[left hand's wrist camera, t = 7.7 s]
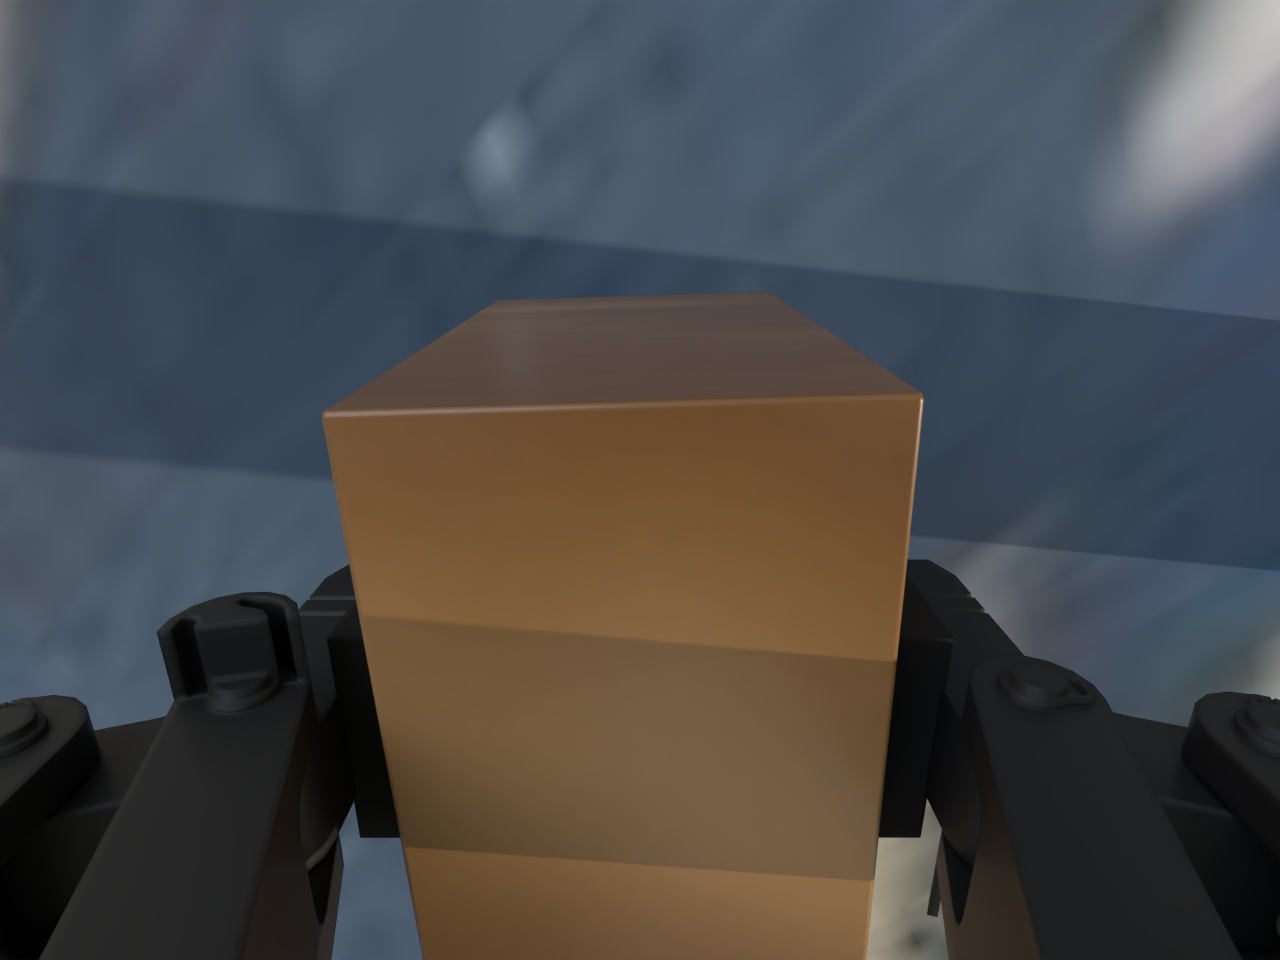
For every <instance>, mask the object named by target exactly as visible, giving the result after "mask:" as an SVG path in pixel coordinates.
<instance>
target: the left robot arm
mask: <svg viewBox="0 0 1280 960" xmlns="http://www.w3.org/2000/svg"><path fill="white" fill-rule="evenodd" d="M984 610H985V609H984V608H983V607H982V606H981V605H980V604H979V602H978V601H977V600H976V599H975V598H972V597H971V593H970V592H969V591H968V590H967V588H966V587H965V586H964V585H963V584H962V583H961V581H960V580H959V579H958V578H957V577H956V576H955V575H954V574H952V573H950V572H949V571H947V570H945V569H943V568H942V567H940V566H938V565H937V564H935V563H933V562H931V561H930V560H907V569H906V578H905V588H904V597H903V607H902V617H901V626H900V636H899V645H898V655H897V665H896V674H895V684H894V693H893V703H892V713H891V722H890V732H889V741H888V751H887V761H886V770H885V780H884V789H883V799H882V809H881V818H880V828H879V837H894V838H920V837H921V831H922V825H923V819H924V813H925V807H926V801H927V799H928V801H929V803H930V805H931V807H932V809H933V811H934V813H935V815H936V817H937V819H938V822H939V824H940V826H941V828H942V832H941V837H940V843H939V848H938V854H937V859H936V865H935V870H934V876H933V881H932V887H931V892H930V898H929V905H928V912H927V915H931V916H935V917H938V911H939V906H940V901H941V904H942V911H943V919H944V926H945V934H946V941H947V949H948V956H949V960H1280V700H1278V699H1275V698H1274V700H1272V699H1271V698H1270V697H1267V696H1262V695H1257V694H1244V693H1235V692H1221V693H1213V694H1207V695H1205V696H1204V697H1203V698H1201V699H1200V700H1198V701H1197V702H1196V703H1195V706H1194V709H1193V713H1192V716H1191V719H1190V722H1189V725H1188V727H1183V726H1178V725H1172V724H1167V723H1162V722H1157V721H1151V720H1146V719H1141V718H1136V717H1131V716H1126V715H1122V714H1118V713H1114V712H1112V710H1111V709H1110V707H1109V705H1108V703H1107V701H1106V699H1105V698H1104V697H1103V696H1102V694H1101V693H1100V692H1099V691H1098V690H1097V689H1096V687H1095V686H1094V685H1093V684H1091V683H1090V682H1088V681H1087V680H1085V679H1084V678H1082V677H1081V676H1079V675H1078V674H1076V673H1075V672H1073V671H1071V670H1069V669H1066V668H1064V667H1061V666H1059V665H1056V664H1054V663H1052V662H1049V661H1045V660H1041V659H1036V658H1032V657H1027V656H1024V655H1023V654H1022V652H1021V651H1020V650H1019V649H1018V648H1017V647H1016V645H1015V644H1014V643H1013V642H1012V641H1011V640H1010V639H1009V637H1008V636H1007V635H1006V634H1005V633H1004V632H1003V630H1002V629H1001V628H1000V627H999V626H998V625H997V623H996V622H995V621H994V620H993V619H992V618H991V616H990V615H989V614H988V613H985V612H984ZM157 635H158V639H159V643H160V647H161V651H162V654H163V658H164V662H165V666H166V670H167V674H168V677H169V681H170V685H171V689H172V693H173V697H174V702H173V704H172V706H171V708H170V710H169V712H168V714H167V716H164V717H160V718H156V719H152V720H147V721H142V722H136V723H131V724H126V725H121V726H116V727H110V728H105V729H100V730H95V731H94V729H93V726H92V723H91V719H90V716H89V713H88V710H87V707H86V705H84V704H83V703H82V702H80V701H79V700H78V699H76V698H74V697H66V696H58V695H50V696H41V697H33V698H22V699H17V700H13V701H12V702H11V703H8V702H6V703H2V704H0V960H331V958H332V951H333V943H334V936H335V928H336V921H337V913H338V906H339V898H340V891H341V883H342V876H343V868H344V862H343V855H342V848H341V843H340V837H339V831H340V829H341V827H342V825H343V823H344V821H345V819H346V817H347V815H348V812H349V810H350V808H351V806H352V804H353V802H354V803H355V809H356V815H357V821H358V827H359V833H360V838H400V833H399V828H398V822H397V817H396V812H395V806H394V801H393V796H392V790H391V785H390V780H389V774H388V769H387V764H386V758H385V753H384V748H383V742H382V737H381V732H380V726H379V721H378V715H377V710H376V705H375V699H374V694H373V689H372V683H371V678H370V673H369V667H368V662H367V657H366V651H365V646H364V641H363V635H362V630H361V625H360V619H359V614H358V608H357V603H356V598H355V592H354V587H353V582H352V576H351V571H350V566H349V565H347V566H345V567H344V568H342V569H340V570H339V571H337V572H335V573H334V574H332V575H330V576H328V577H327V578H325V580H324V581H323V582H322V583H321V584H320V585H319V587H318V588H317V589H316V590H315V591H314V592H313V594H312V595H311V596H310V600H307V601H306V602H305V603H304V604H303V605H302V607H301V608H300V609H299V610H298V606H297V603H296V602H294V601H293V600H292V599H290V598H289V597H287V596H286V595H281V594H276V593H271V592H247V593H239V594H234V595H229V596H223V597H218V598H215V599H212V600H209V601H206V602H203V603H201V604H198V605H195V606H192V607H190V608H188V609H186V610H185V611H183V612H181V613H179V614H177V615H176V616H174V617H172V618H170V619H169V620H168V621H167V622H166V623H165V624H164V625H163V626H162V627H161V628H160V629H159V630H158V631H157Z"/></svg>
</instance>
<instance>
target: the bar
mask: <svg viewBox="0 0 1280 960" xmlns="http://www.w3.org/2000/svg"><path fill="white" fill-rule="evenodd" d="M923 405H924V397H923V394H922V393H921V392H919V391H918V390H916V389H915V388H913V387H912V386H910V385H909V384H907V383H906V382H904V381H903V380H901V379H900V378H898V377H897V376H895V375H894V374H892V373H891V372H889V371H888V370H886V369H885V368H883V367H882V366H880V365H879V364H877V363H875V362H874V361H872V360H871V359H869V358H868V357H866V356H865V355H863V354H862V353H860V352H859V351H857V350H856V349H854V348H853V347H851V346H850V345H848V344H847V343H845V342H844V341H842V340H841V339H839V338H838V337H836V336H835V335H833V334H832V333H830V332H829V331H827V330H826V329H824V328H823V327H821V326H820V325H818V324H817V323H815V322H814V321H812V320H811V319H809V318H808V317H806V316H805V315H803V314H802V313H800V312H799V311H797V310H796V309H794V308H793V307H791V306H790V305H788V304H787V303H785V302H784V301H782V300H781V299H779V298H778V297H776V296H775V295H773V294H771V293H770V292H737V293H705V294H674V295H643V296H612V297H581V298H550V299H518V300H498V301H496V302H494V303H493V304H491V305H489V306H488V307H486V308H485V309H483V310H482V311H480V312H478V313H477V314H475V315H474V316H472V317H471V318H469V319H467V320H466V321H464V322H463V323H461V324H460V325H458V326H457V327H455V328H453V329H452V330H450V331H449V332H447V333H446V334H444V335H442V336H441V337H439V338H438V339H436V340H435V341H433V342H431V343H430V344H428V345H427V346H425V347H424V348H422V349H421V350H419V351H417V352H416V353H414V354H413V355H411V356H410V357H408V358H406V359H405V360H403V361H402V362H400V363H399V364H397V365H395V366H394V367H392V368H391V369H389V370H388V371H386V372H385V373H383V374H381V375H380V376H378V377H377V378H375V379H374V380H372V381H370V382H369V383H367V384H366V385H364V386H363V387H361V388H359V389H358V390H356V391H355V392H353V393H352V394H350V395H349V396H347V397H345V398H344V399H342V400H341V401H339V402H338V403H336V404H334V405H333V406H331V407H330V408H328V409H327V410H325V411H323V415H322V421H323V427H324V432H325V437H326V443H327V448H328V453H329V459H330V464H331V469H332V475H333V480H334V485H335V491H336V496H337V501H338V507H339V512H340V518H341V523H342V528H343V534H344V539H345V544H346V550H347V555H348V560H349V566H350V571H351V576H352V582H353V587H354V592H355V598H356V603H357V608H358V614H359V619H360V625H361V630H362V635H363V641H364V646H365V651H366V657H367V662H368V667H369V673H370V678H371V683H372V689H373V694H374V699H375V705H376V710H377V715H378V721H379V726H380V732H381V737H382V742H383V748H384V753H385V758H386V764H387V769H388V774H389V780H390V785H391V790H392V796H393V801H394V806H395V812H396V817H397V822H398V828H399V833H400V838H401V844H402V849H403V855H404V860H405V865H406V871H407V876H408V881H409V887H410V892H411V897H412V903H413V908H414V913H415V919H416V924H417V929H418V935H419V940H420V945H421V951H422V956H423V960H866V953H867V943H868V934H869V924H870V914H871V905H872V895H873V886H874V876H875V866H876V857H877V847H878V838H879V828H880V818H881V809H882V799H883V789H884V780H885V770H886V761H887V751H888V741H889V732H890V722H891V713H892V703H893V693H894V684H895V674H896V665H897V655H898V645H899V636H900V626H901V617H902V607H903V597H904V588H905V578H906V569H907V559H908V549H909V540H910V530H911V521H912V511H913V501H914V492H915V482H916V473H917V463H918V453H919V444H920V434H921V425H922V415H923Z"/></svg>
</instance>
